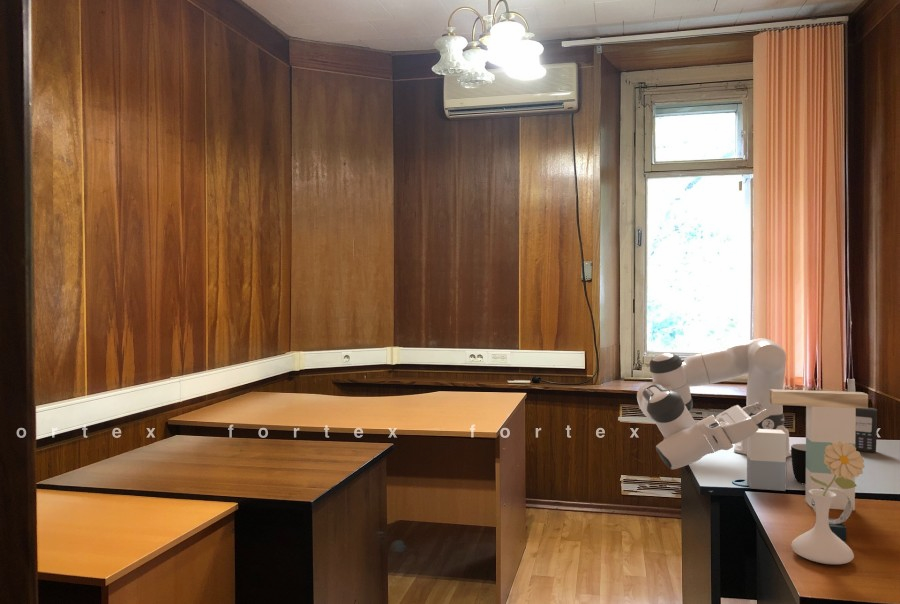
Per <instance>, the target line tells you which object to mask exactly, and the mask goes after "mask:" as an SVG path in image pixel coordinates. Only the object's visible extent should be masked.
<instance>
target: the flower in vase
mask: <svg viewBox="0 0 900 604" xmlns="http://www.w3.org/2000/svg"><path fill="white" fill-rule="evenodd" d="M825 452H826V454H824V457H825V458H824V459H825V461H824V463H825V464H826V465H827V467H828V469H831V473H832V474H835V476H834V478H833V480H832V481H831V482H830V484H829V485H827V484H826V483H824V482H821V481H819V480H817V479H815V478H813V477H812V476H811V479H812V480H813V481H814V482H816V483H819V484H821V485H823V486H826V487H827V488H826V490H821V489H812V490H809V493H810V494H811V496H812V497H813V500H814V503H815V507H816V513H815V525H814V526H813V527H812V528H811V529H809V530H807V531H806V532H803V533H801V534H800V535H798V536H796V537H795V538H793V540H792V542H791V547H790V548H792V550H793V551H794V552H795V554H797V555H799V556H800V557H802V558H804V559H807V560H809V561H812V562H814V563H815V562H816V563H818V564H819V563H820V564H825V565H843V564H845V565H846V564H848V563H850V562H851V561H852V560H853V559H854V558H855V554H854V552H853V550H852V549H851V547H849V545H848V544H847V543H846V542H845V541H842V540H841V539H840V538H839V537H837V536H836V535H835V534H834V533H833V532H832V531H831V530H830V527H829V523H828V518H829V515H830V514H829V513H830V509H829V508H830V504H831V502H832V500H833V499H834V498H835V497H836V494H835V493H833V492H831V491H827V490H828V489H829V487H830V486H831V484H832V483H833V482H834V480H835V482H836V483H837V485H839V486H840V487H841V488H843V489H849V488H853V487H855V488H856V487H857V486H858V485H857V484H856V482H855V483H854V482H853V481H852V480H851V479H853V478H854V476H855V478H857V477H859V476H860V475H863V473H864V471H863V469H864V468H865V464H864V462H865V460H864V457H863V456H862V455H861V453H860V452H861V451H856V448H855V447H854V446H853V445H851V444H850V445H849V444H848V443H847V442H844V443H843V442H841V441H839V440H838V441H837V442H833V443H832V446H831V445H828V446H826V449H825ZM836 475H837V476H839V477H838V478H836ZM853 475H854V476H853ZM835 478H836V479H835Z"/></svg>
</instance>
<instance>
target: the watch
mask: <svg viewBox="0 0 900 604" xmlns="http://www.w3.org/2000/svg"><path fill="white" fill-rule="evenodd" d="M826 488H827V487H825V488H820V489H821V490H826ZM827 491H831V492H832V491H839V492H841V493H843V494H845V495H846V496H847V498H848V502H847V505H846V508H845V510H843V512H842V513H841V514H840V515H839V517H838V518H830V517H828V523H829V527H830V530H831V531H832V532H833V533H834V534H835V535H836V536H837V537H839V538H840V539H841V540H842V541H843V542H844V543H846V542H847V526H845V524H844V523H845V522H846V521H847V520H848V519H849V517H850V516H851V514H852V512H853V511H854V510H853V504H852V500H851V498H850V497H849V496H848V495H847V494H846V493H845V492H844V491H843V490H841V489H839V488H836V487H829V489H828V490H827ZM811 504H812V506H813V507H812V509H813V511H814V513H815V514H816V507H815V503H814V500H813V499H812V503H811Z"/></svg>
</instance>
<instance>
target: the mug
mask: <svg viewBox="0 0 900 604" xmlns="http://www.w3.org/2000/svg"><path fill="white" fill-rule="evenodd" d="M790 450H791V456H790V458H791V468H792V473H793V477H794V480H795V481H796V482H797V483H800V484H802V483H803V485H806V443H794V444H792V445H791V447H790Z"/></svg>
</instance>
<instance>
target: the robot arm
mask: <svg viewBox="0 0 900 604" xmlns="http://www.w3.org/2000/svg"><path fill="white" fill-rule="evenodd" d="M786 362H787V354H786V352H785V349H784V348H783V347H782V346H781V345H780V344H779V343H777V342H775V341H773V340H771V339H768V338H765V337H758V338H755V339H750V340H747V341H742V342H739V343H735V344H733V345H729V346H725V347H722V348H718V349H713V350H708V351H704V352H701V353H696V354H693V355H689V356H686V357H684V358H682V357H680V356H679V355H678V354H675V353H672V352H664V353H659V354H658V355H655V356H654V357H652V358H651V360H650V361H649V372H650V373H651V379H652V381H649V382H645V383H643V384H642V385H640V386H639V388H637V389H638V390H637V393H636V399H637V404H638V407H639V408H640V410H641V412H642V413H643V415H644V416H645V417H646V418H647V419H648V420H650V421H651V422H653V423H655V424H656V426H657V428H658V430H659V431H660V433H661V434H662V436H663V440H662V441H660V442H659V443H657V445H656V446H655V450H656V453H657V454H658V456H659V458H660V460H661V461H662V462H663V464H664V465H665V466H666V467H667V468H669V469H671V470H677V469H680V468H683V467H686V466H689V465H690V464H693V463H696V462H697V461H699V460H701V459H702V458H703V457H704V456H707V455H710V454H714V453H716V452H718V451H721V450H724V451H728V450H730V449H732V448H733V452H734V453H736V454H737V453H738V454H743V455H746V456H747V437H749V436H751V435H753V434H754V433H755V432H756V431H757V430H758V429H775V430H782V431H783V432H785V433H786V458H787V457H788V458H789V457H791V447H790V432H789V430H788V428H787V427H785V425H784V424H785V414H784V413H783V411H784V410H783V406H784V405H772V404H771V403H770V389H775V390H784V384H785V383H784V382H785V375H786V364H787V363H786ZM746 375H747V384H746V406H744V407H741V406H740V405H739V404H736V405H733V406H731V407H730V408H728V409H726V410H724V411H722V412H720V413H718V414H717V415H716V416H714V414H711V415H709V416H707V417H705V418H703V419H700V420H699V421H695V419H694V418H693V416H692V415H691V413H690V411H691V410H692V409H693V404H694V403H693V397H692V396H691V389H690V387H691V388H692V387H699V386H707V385H711V384H716V383H721V382H725V381H731V380H735V379H737V378H739V377H743V376H746Z"/></svg>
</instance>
